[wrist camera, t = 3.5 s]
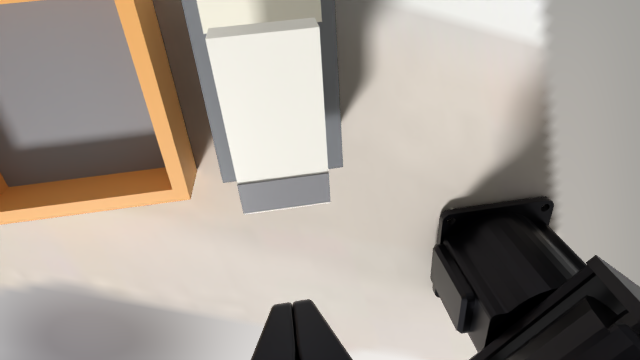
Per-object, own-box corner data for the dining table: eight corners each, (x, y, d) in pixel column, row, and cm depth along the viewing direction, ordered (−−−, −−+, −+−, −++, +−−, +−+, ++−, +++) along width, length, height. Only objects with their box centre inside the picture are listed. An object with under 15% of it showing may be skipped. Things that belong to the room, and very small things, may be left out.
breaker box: (321, -28, 16) (343, -13, 12) (331, 136, 20) (351, 189, 16) (192, -15, 16) (170, 4, 12) (227, 149, 20) (219, 207, 16)
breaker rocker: (314, 17, 12) (320, 28, 11) (325, 186, 15) (330, 204, 14) (208, 28, 12) (205, 39, 11) (244, 197, 15) (244, 215, 14)
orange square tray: (142, -35, 15) (125, -29, 13) (197, 170, 20) (190, 199, 18) (-112, -12, 15) (-174, -2, 13) (5, 195, 19) (-26, 228, 17)
